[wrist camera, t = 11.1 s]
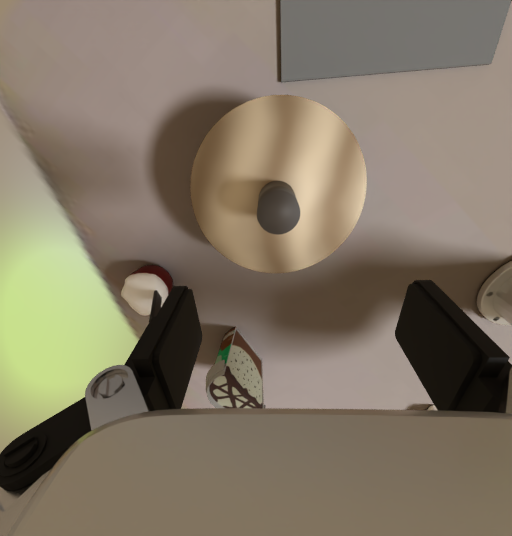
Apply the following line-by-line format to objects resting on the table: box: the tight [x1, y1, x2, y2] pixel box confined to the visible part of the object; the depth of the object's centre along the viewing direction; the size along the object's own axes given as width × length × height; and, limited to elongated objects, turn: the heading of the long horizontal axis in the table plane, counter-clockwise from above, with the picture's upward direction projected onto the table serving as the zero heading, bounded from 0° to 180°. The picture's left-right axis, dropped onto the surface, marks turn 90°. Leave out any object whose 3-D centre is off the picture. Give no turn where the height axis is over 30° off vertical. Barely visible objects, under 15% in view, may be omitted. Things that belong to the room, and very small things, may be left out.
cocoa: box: [121, 265, 173, 322], centre depth 34 cm, size 10×6×12 cm, turn 87°
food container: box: [206, 327, 266, 408], centre depth 42 cm, size 12×6×10 cm, turn 30°
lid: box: [190, 95, 367, 273], centre depth 23 cm, size 17×17×6 cm
